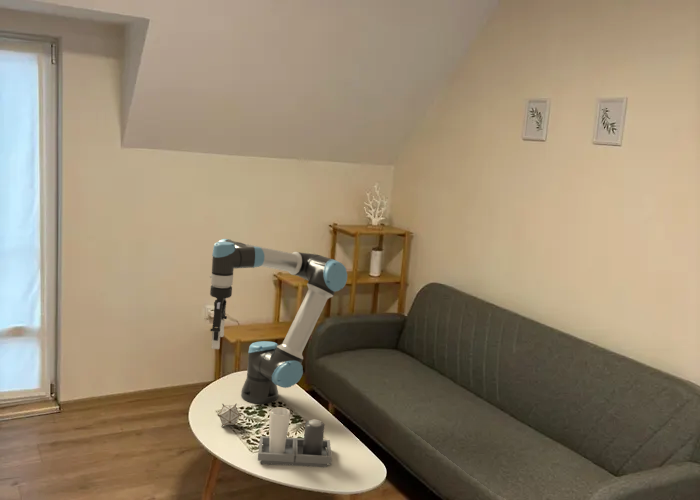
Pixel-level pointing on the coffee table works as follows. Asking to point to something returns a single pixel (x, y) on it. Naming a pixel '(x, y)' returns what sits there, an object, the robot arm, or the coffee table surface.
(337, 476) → the coffee table surface
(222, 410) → the game die
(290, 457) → the divided desk organizer
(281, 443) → the drinking glass
